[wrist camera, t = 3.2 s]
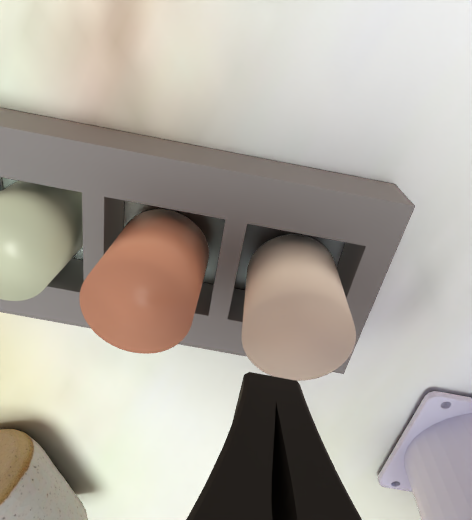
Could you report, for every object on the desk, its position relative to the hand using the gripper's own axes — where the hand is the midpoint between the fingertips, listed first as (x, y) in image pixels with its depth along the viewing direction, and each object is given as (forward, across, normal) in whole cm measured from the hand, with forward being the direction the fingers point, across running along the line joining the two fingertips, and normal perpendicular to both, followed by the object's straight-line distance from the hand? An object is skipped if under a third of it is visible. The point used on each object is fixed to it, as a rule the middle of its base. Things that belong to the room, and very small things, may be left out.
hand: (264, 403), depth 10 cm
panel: (+8, +4, 0) cm, 9 cm away
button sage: (+8, +9, 0) cm, 12 cm away
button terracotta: (+7, +4, 0) cm, 8 cm away
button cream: (+7, -1, 0) cm, 7 cm away
